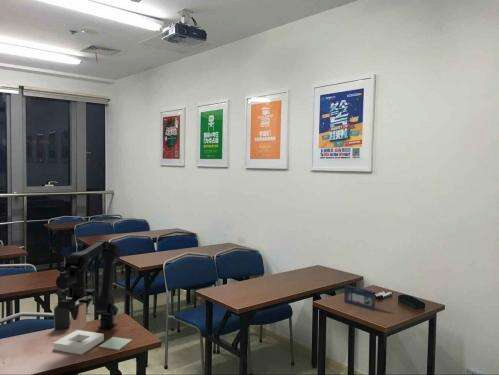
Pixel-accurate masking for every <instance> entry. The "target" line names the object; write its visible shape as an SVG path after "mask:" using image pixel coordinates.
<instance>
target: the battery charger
mask: <svg viewBox="0 0 499 375" xmlns="http://www.w3.org/2000/svg"><path fill="white" fill-rule="evenodd" d="M53 321H54V324H53V325H54V326H53V328H54V330H55V331H57V330H62V329H63V330H64V329H68V328H71V313H70V311H69V309H64V308H58V304H56V305H55V306H54V307H53Z"/></svg>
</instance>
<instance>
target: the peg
mask: <svg viewBox="0 0 499 375" xmlns="http://www.w3.org/2000/svg"><path fill="white" fill-rule="evenodd" d="M77 305H79V309H78V314H77V318H76V320H73V317H72V315H71V314H70V329H74V330H81V329H83V328H85V327H86V326H87V320H88V319H87V310H86V303H80V302H79V301H77Z"/></svg>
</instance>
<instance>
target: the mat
mask: <svg viewBox="0 0 499 375" xmlns="http://www.w3.org/2000/svg"><path fill="white" fill-rule="evenodd" d="M132 341H133V339H130V338H124V337H123V338H122V337H118V336H117V337H116V336H112V337H111V338H109V339H108V340H106V341H103V343H102V344H100V345H99V346H98V348H103V349H109V350H116V351H120V350H121V349H122V348H125V347H126V345H128V344H130V343H131V342H132Z"/></svg>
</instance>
